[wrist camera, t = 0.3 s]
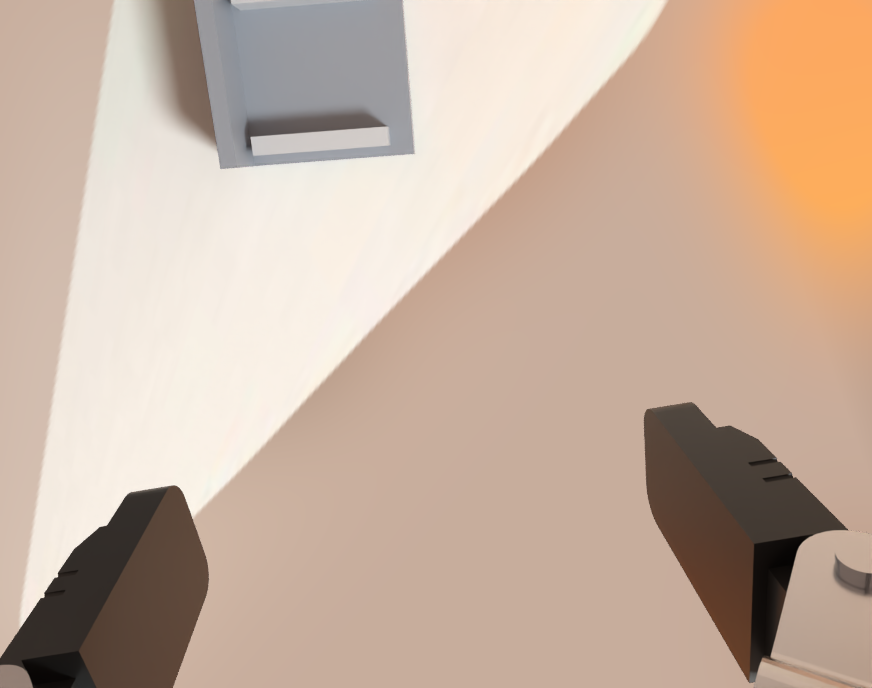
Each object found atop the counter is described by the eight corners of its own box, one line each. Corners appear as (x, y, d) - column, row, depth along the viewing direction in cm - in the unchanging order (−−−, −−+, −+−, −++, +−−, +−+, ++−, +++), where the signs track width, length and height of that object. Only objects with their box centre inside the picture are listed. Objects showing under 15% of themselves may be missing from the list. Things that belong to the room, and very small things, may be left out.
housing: (219, -14, 34) (188, -37, 30) (400, -29, 34) (395, -54, 29) (245, 166, 36) (220, 168, 32) (414, 153, 36) (412, 154, 32)
